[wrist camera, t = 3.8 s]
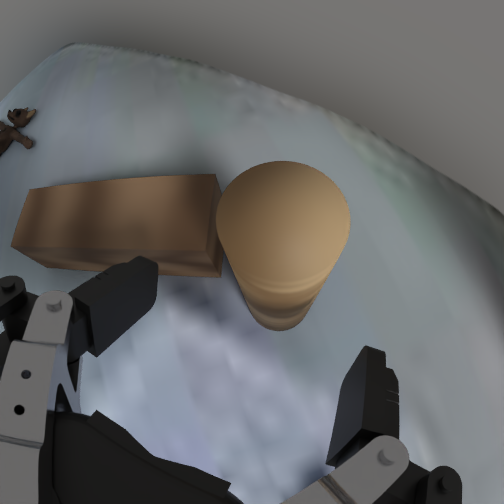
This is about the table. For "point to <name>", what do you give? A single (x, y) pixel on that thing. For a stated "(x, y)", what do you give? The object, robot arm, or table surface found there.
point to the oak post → (282, 237)
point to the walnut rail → (125, 224)
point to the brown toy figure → (7, 133)
